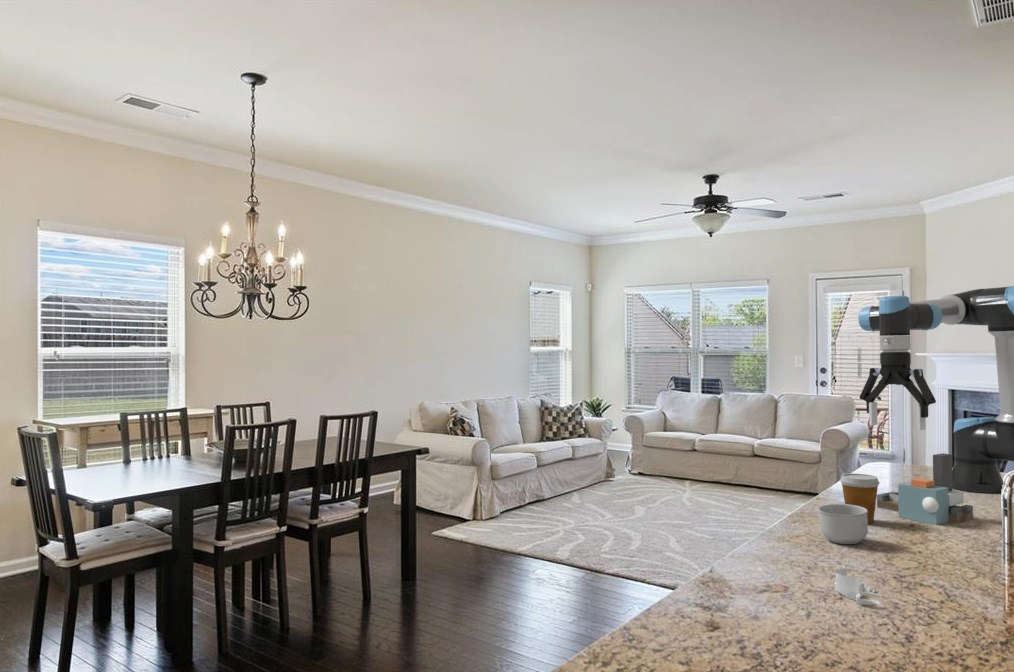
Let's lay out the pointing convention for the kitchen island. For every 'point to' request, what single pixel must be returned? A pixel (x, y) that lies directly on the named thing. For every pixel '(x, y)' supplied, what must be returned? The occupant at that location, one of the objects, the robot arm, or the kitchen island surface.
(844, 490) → the disposable coffee cup
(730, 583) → the kitchen island surface
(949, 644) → the kitchen island surface
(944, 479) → the carriage
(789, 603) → the kitchen island surface
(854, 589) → the white figurine
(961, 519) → the rail board
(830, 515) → the light gray bowl
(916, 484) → the button
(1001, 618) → the kitchen island surface
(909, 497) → the cabinet
